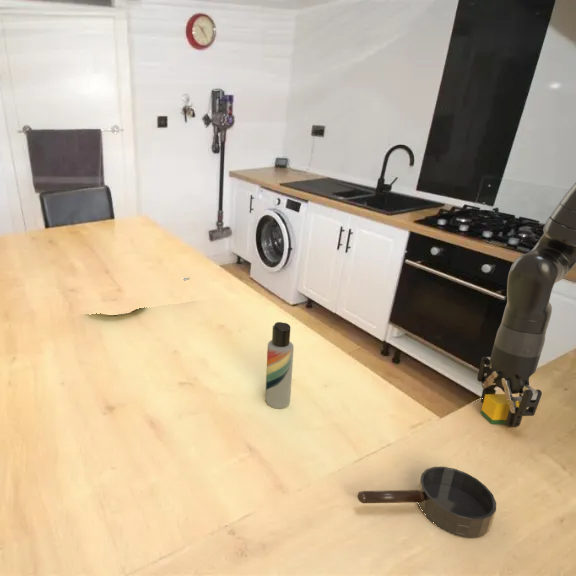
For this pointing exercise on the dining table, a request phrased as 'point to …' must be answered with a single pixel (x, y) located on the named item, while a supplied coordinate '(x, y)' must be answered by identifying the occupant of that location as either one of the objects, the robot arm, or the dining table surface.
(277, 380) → the lotion bottle
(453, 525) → the pan
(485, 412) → the sponge
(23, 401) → the dining table surface
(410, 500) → the pan handle
